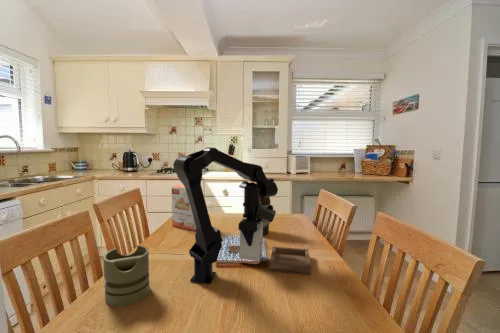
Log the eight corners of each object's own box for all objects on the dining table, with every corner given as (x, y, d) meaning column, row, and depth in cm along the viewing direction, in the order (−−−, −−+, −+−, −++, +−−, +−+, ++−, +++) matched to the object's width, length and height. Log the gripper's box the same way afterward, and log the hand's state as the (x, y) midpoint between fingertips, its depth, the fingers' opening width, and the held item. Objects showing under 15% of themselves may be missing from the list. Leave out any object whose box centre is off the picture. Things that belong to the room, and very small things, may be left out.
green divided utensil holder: (149, 257, 69) (100, 265, 64) (150, 300, 70) (102, 311, 65) (147, 242, 79) (105, 248, 74) (148, 280, 80) (107, 288, 76)
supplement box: (259, 266, 90) (260, 230, 89) (239, 263, 91) (239, 229, 90) (262, 256, 97) (263, 224, 96) (243, 254, 99) (244, 222, 97)
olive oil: (243, 232, 123) (243, 180, 121) (258, 227, 130) (259, 178, 128) (258, 238, 116) (259, 183, 113) (274, 233, 123) (275, 181, 121)
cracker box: (171, 226, 130) (170, 185, 128) (179, 223, 136) (179, 184, 134) (193, 231, 124) (192, 188, 122) (201, 227, 129) (200, 186, 127)
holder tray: (310, 274, 84) (310, 265, 84) (269, 270, 86) (269, 262, 86) (308, 256, 98) (308, 249, 97) (272, 254, 100) (272, 246, 99)
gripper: (272, 207, 82) (271, 254, 83) (276, 195, 100) (275, 234, 102) (238, 205, 83) (237, 251, 85) (247, 194, 102) (247, 232, 103)
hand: (251, 241), depth 94 cm, fingers closed on supplement box, 7 cm apart
